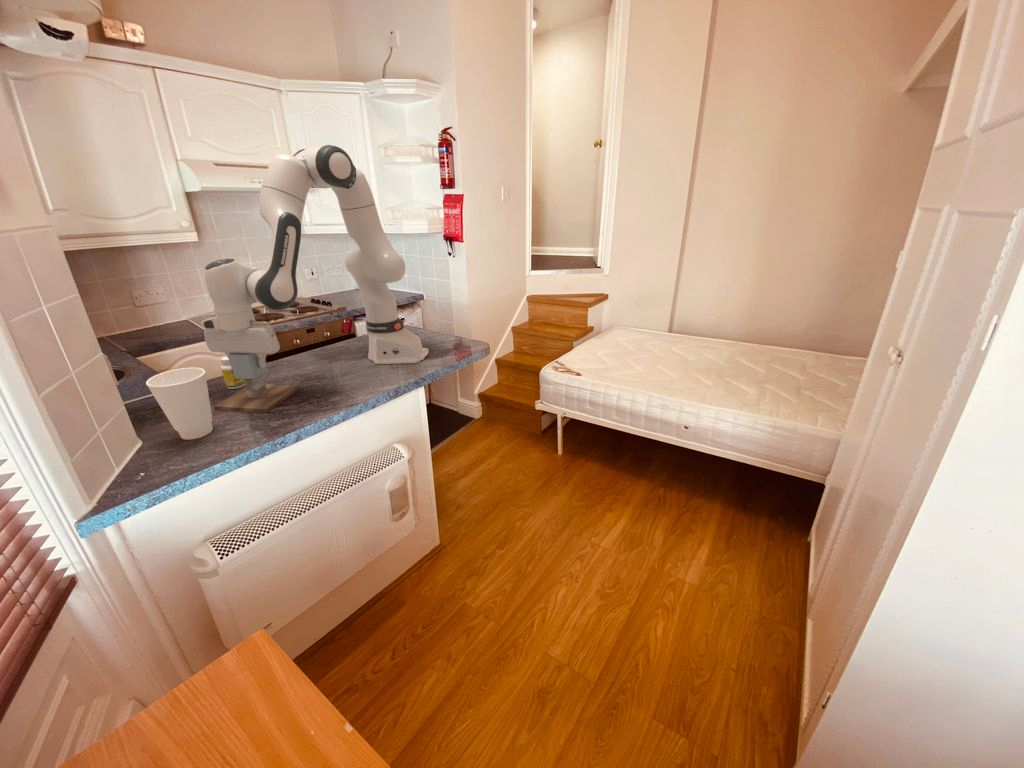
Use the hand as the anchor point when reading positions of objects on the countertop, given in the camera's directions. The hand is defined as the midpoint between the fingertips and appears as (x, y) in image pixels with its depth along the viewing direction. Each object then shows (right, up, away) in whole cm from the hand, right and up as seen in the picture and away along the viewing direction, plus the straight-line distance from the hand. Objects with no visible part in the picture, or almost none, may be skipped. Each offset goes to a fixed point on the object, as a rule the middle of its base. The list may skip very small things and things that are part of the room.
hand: (249, 366), depth 123 cm
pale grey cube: (0, -2, +1) cm, 3 cm away
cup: (-6, -18, -13) cm, 23 cm away
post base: (0, -10, +4) cm, 11 cm away
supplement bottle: (-13, -6, +14) cm, 19 cm away
